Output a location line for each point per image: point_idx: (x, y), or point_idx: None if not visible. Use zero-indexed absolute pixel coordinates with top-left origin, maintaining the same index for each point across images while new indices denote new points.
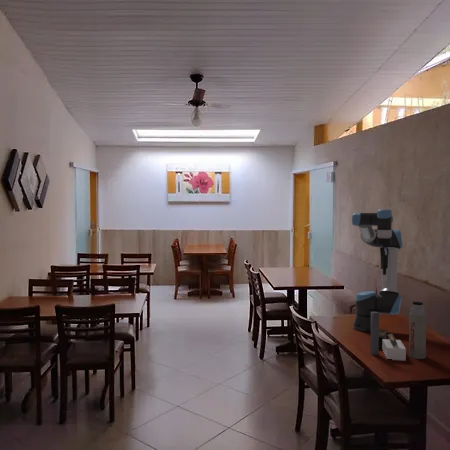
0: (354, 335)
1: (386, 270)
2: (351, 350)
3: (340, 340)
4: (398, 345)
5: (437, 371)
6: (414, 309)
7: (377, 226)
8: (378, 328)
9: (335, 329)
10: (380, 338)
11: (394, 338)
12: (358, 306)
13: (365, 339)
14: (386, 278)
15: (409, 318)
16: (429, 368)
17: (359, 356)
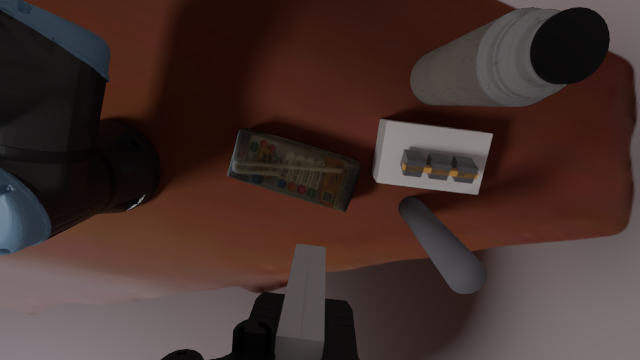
0: (211, 222)
1: (324, 326)
2: (373, 264)
3: (273, 275)
4: (454, 148)
5: None
6: (563, 84)
7: None
8: (450, 231)
9: (145, 268)
10: (355, 182)
11: (472, 169)
12: (68, 227)
13: (255, 197)
14: (324, 261)
15: (499, 106)
16: None
17: None
